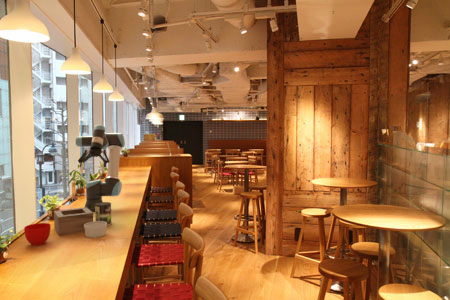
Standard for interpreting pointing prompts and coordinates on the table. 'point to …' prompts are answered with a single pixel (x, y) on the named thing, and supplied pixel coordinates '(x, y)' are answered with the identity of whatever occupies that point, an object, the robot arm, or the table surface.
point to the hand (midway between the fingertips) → (91, 171)
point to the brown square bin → (72, 220)
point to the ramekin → (95, 229)
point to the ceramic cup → (37, 233)
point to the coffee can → (103, 212)
